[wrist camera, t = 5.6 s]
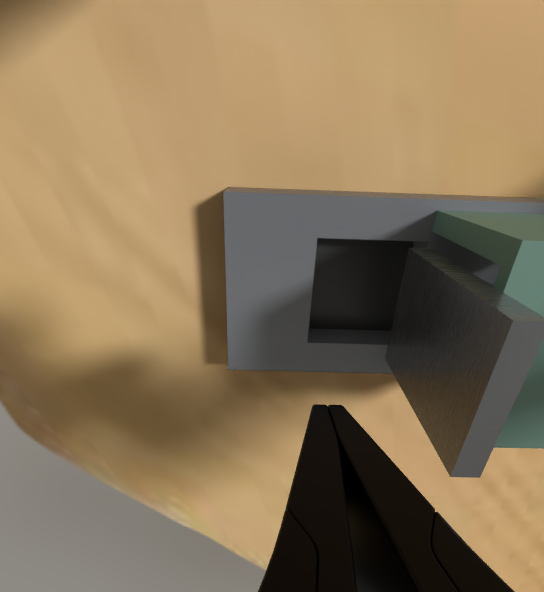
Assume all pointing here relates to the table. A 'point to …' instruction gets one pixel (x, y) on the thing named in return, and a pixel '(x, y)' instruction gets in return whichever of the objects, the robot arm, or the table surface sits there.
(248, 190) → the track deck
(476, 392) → the sled
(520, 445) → the tunnel
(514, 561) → the table surface
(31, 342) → the table surface
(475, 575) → the robot arm
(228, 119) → the table surface
